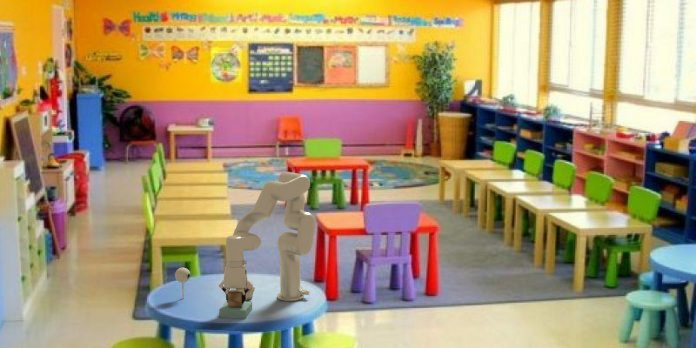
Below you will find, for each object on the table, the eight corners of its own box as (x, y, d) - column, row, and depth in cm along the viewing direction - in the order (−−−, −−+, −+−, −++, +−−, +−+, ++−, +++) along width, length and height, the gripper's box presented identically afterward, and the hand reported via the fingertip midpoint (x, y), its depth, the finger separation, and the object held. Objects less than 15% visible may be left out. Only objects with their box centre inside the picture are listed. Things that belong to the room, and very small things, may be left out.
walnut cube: (244, 302, 400) (243, 289, 399) (241, 306, 394) (240, 293, 393) (231, 302, 400) (230, 289, 399) (227, 306, 394) (227, 293, 393)
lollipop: (186, 301, 414) (185, 270, 412) (172, 299, 417) (171, 269, 414) (193, 297, 421) (192, 266, 418) (180, 295, 423) (179, 265, 421)
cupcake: (238, 294, 425) (238, 274, 423) (257, 295, 423) (257, 275, 421) (232, 300, 416) (232, 280, 414) (252, 301, 414) (251, 281, 412)
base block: (252, 310, 403) (252, 302, 402) (246, 319, 391) (245, 310, 390) (226, 309, 404) (226, 300, 404) (219, 318, 393) (219, 309, 392)
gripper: (256, 261, 396) (256, 300, 399) (218, 260, 398) (219, 299, 401) (252, 266, 389) (253, 305, 392) (214, 265, 391) (215, 304, 394)
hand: (236, 301), depth 397 cm, fingers closed on walnut cube, 6 cm apart
